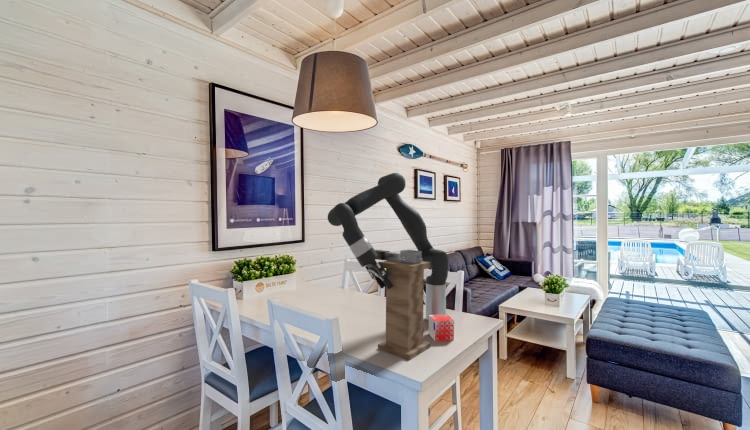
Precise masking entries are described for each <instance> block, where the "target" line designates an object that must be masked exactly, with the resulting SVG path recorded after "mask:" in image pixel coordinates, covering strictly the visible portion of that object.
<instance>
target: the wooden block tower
mask: <svg viewBox="0 0 750 430" xmlns="http://www.w3.org/2000/svg"><path fill="white" fill-rule="evenodd" d="M380 262H381V264H382V265H383V267H384V268H385V270H386V271H387V273H388V274H389V276H388V278H389V280H390V281H391V283H392V284H393V287H391V288H390V289H388V288H387V287H386V286H385V340H384V341H382V342H380V343H378V344H377V349H378V350H381V351H383V352H386V353H389V354H392V355H395V356H397V357H401V358H403V359H406V360H412V359H414V358H415V357H416V356H419V355H420V354H421V353H423V352H425V351H426V350H428V349H430V348H431V342H429V341H426V340H424V295H425V294H424V292H425V291H424V286H425V285H424V283H425V279H424V277H425V276H424V275H425V273H424V272H425V269H431V268H430V265H431V262H424V261H423V260H421V263H419V264H406V263H400V262H394V261H386V260H382V261H380Z"/></svg>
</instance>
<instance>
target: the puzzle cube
mask: <svg viewBox="0 0 750 430" xmlns="http://www.w3.org/2000/svg"><path fill="white" fill-rule="evenodd" d="M428 335H430V337H431V338H432V339H433V341H435V342H439V341H442V342H443V341H455V320H454V319H453V318H452V317H451V316H449V315H448V314H447V313H446V314H440V315H429V321H428Z"/></svg>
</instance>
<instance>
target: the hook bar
mask: <svg viewBox="0 0 750 430" xmlns="http://www.w3.org/2000/svg"><path fill="white" fill-rule="evenodd" d="M374 250H375V251H376V253H377V254H378V257H377V258H376V259H375V260H379V261H394V262H400V263H406V264H419V263H421V261H422V258H421V255H422V251H418V250H416V249H415V250H412V249H406V250H405V249H404V250H400V252H393V251H389V250H381V249H374Z"/></svg>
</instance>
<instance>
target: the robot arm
mask: <svg viewBox="0 0 750 430" xmlns="http://www.w3.org/2000/svg"><path fill="white" fill-rule="evenodd" d="M405 179H406V178H405V177H404V176H403V174H401V173H398V172H393V173H390V174H386V175H384V176H381V177H380V178H379V179H378V181H377V185H376V186H373V187H371V188H369V189H366V190H364V191H362V192H359V193H357V194H356V195H353V196H352V197H350V198H349V199H348V200H347V201H345V202H339V203H338V204H336V205H335V206H334V207H332V208H331V209H330V210H329V212H328V214H327V221H328V223H329V224H330V225H332V226H334V227H340V226H342V228H343V231H342V237H343V239H344V240H345V242H346V244H347V245H348V247H349V249H350V250H351V253H352V254H353V256H354V257H355V258H356V260H357V262H358V264H359V265H360V267H363V268H364V267H365V270H366V271H367V272H368V274H369V275H370V277H371V279H372V280H374V281H375V282H376V283H377V285H378V286H379V288H380V289H384V288H386V287H387V288H388V289H390V288H391V287H393V284H392V283H391V281H390V280H389V278H388V276H389V274H388V273H387V271H386V268H384V267H383V265H382V264H381V262H382V261H376V260H377V259H376V258H377V257H378V254H377V253H376V251H375V250H376V249H375V248H374V247H373V245H372V243H370V241H369V239H368V238H367V237H366V236H365V234H364V233H363V232H362V230H361V228H360V227H359V223H358V221H357V218H356V216H357V215H359V214H361V213H363V212H365V211H366V210H368V209H369V208H371V207H373V206H374V205H376V204H378V203H379V202H380V201H383V200H386V202H387V203H388V205H389V206H390V207H391V209H392V211H393V212H394V214H395V215H396V217H397V219H398V220H399V222H400V224H401V225H402V227H403V228H404V230H405V231H406V233H407V235H408V236H409V238H410V240H411V241H412V243H413V244H414V246H415V248H416V249H417V250H416V251H422V255H421V261H424V262H431V265H430V268H429V269H431V274H430V275H428V276H426V277H425V321H428V322H429V315H440V314H447V295H446V294H447V293H446V292H447V291H446V290H447V285H446V284H447V279H448V276H449V274H448V273H449V256H448V254H447V252H446V251H444V250H442V249H436V248H434V246H433V245H432V244H431V242H430V241H429V238H428V236H427V235H428V234H427V226H426V223H425V221H424V219H423V218H422V216H421V214H420V213H419V212H418V211H417V210H416V209H415V208H414V207H412V206H411V205H409V204H408V203H407V202H406V201H404V200H403V198H402V197H401V195H400V193H402V192H403V191H404V190H405V188H406V180H405Z"/></svg>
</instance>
